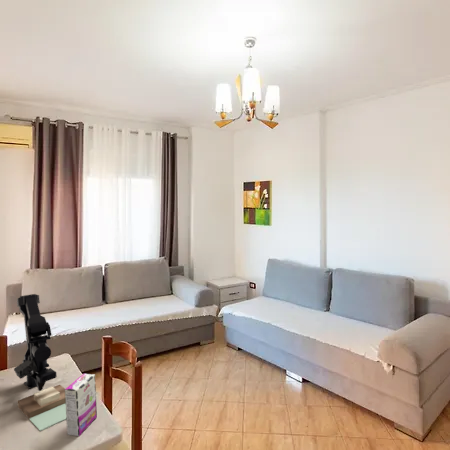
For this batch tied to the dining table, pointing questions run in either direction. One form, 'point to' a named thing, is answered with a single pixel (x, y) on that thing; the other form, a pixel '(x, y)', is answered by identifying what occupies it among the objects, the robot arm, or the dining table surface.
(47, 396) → the birch block
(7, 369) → the dining table surface
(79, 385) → the candy bar box
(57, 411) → the sage mat
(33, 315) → the robot arm
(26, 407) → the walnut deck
